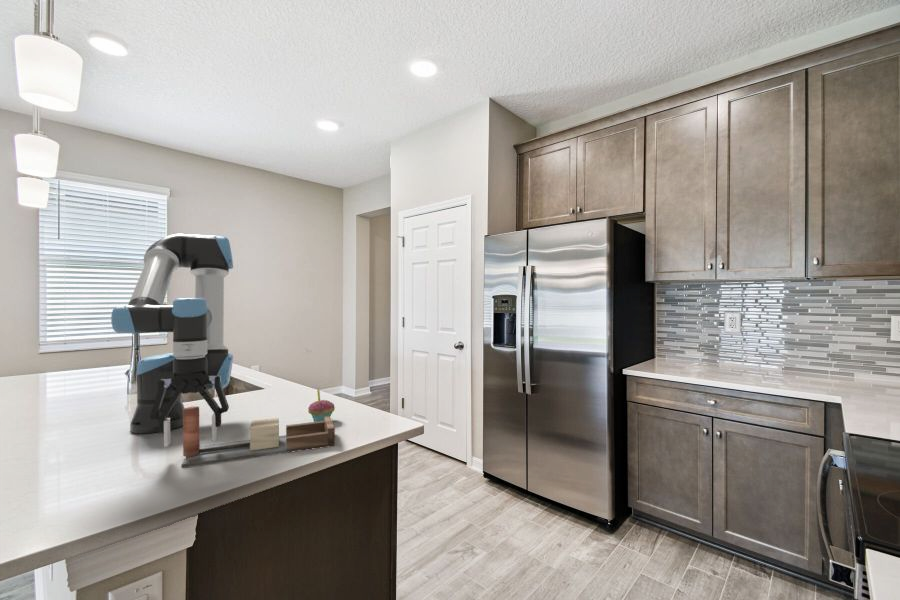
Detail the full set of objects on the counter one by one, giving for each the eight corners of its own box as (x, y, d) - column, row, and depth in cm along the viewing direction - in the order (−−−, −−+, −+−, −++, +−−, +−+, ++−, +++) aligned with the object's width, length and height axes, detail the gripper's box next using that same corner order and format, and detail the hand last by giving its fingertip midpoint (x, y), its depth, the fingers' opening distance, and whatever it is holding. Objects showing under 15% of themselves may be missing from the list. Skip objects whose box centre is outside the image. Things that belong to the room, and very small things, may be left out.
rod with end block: (186, 450, 107) (186, 405, 107) (278, 438, 115) (278, 397, 115) (180, 460, 100) (179, 412, 100) (278, 446, 109) (278, 403, 109)
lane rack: (192, 450, 109) (191, 431, 109) (330, 432, 123) (330, 416, 123) (181, 467, 98) (181, 447, 98) (334, 445, 112) (334, 428, 112)
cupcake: (326, 426, 129) (326, 389, 129) (302, 425, 130) (302, 388, 130) (339, 418, 137) (338, 384, 137) (316, 417, 139) (316, 383, 139)
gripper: (132, 361, 96) (133, 453, 96) (237, 356, 105) (238, 440, 105) (142, 357, 103) (143, 443, 103) (240, 352, 112) (241, 431, 112)
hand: (191, 441), depth 104 cm, fingers open, 10 cm apart
